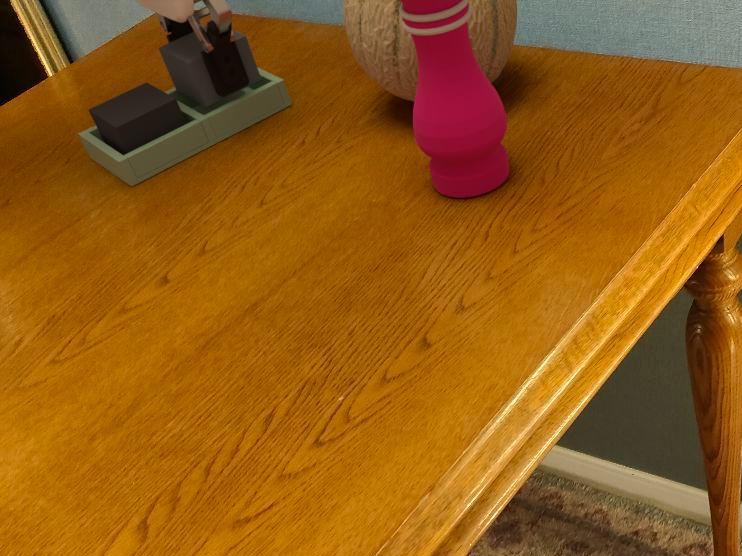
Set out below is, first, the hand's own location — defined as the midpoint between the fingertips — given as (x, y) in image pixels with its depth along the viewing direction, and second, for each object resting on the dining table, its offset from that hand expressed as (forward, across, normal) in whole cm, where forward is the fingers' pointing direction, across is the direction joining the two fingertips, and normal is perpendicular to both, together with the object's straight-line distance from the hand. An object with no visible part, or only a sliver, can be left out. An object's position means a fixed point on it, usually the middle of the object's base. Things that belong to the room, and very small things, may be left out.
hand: (216, 79), depth 93 cm
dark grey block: (+3, 0, -8) cm, 9 cm away
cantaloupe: (+3, +17, +14) cm, 22 cm away
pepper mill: (+3, +30, +6) cm, 31 cm away
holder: (+3, 0, -4) cm, 5 cm away
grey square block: (+1, 0, 0) cm, 1 cm away
